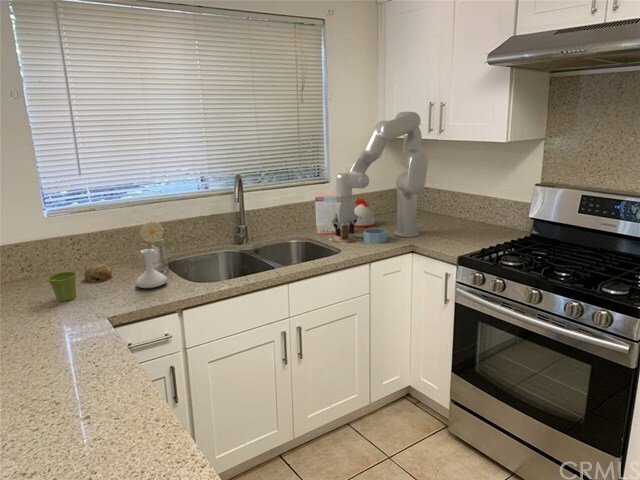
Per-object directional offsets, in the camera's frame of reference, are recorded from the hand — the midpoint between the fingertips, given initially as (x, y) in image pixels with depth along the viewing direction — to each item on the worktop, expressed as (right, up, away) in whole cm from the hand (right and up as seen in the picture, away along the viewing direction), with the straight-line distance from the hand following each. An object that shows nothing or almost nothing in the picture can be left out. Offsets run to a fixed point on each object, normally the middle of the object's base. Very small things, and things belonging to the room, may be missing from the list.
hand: (344, 234), depth 234 cm
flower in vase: (-75, -20, -53) cm, 94 cm away
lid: (0, -2, +1) cm, 2 cm away
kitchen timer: (+11, +5, +29) cm, 32 cm away
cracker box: (-7, 0, +14) cm, 15 cm away
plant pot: (-103, -24, -63) cm, 123 cm away
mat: (0, -3, +1) cm, 3 cm away
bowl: (+15, -3, -3) cm, 15 cm away
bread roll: (-101, -18, -42) cm, 111 cm away
